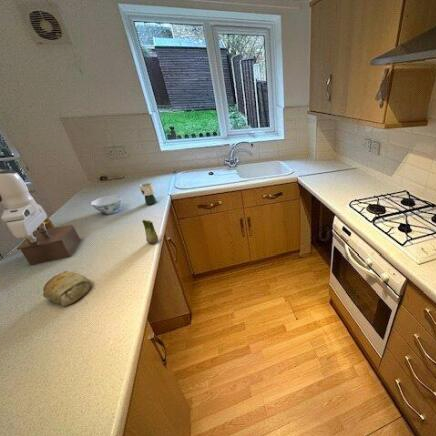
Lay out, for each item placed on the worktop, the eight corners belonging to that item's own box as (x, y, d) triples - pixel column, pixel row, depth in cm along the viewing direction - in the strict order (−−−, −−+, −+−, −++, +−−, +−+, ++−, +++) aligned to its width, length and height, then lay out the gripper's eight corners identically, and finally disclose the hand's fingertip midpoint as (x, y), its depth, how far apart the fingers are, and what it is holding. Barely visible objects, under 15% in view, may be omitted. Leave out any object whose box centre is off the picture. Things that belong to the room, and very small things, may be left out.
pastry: (56, 286, 90) (46, 269, 86) (96, 276, 94) (88, 260, 91) (39, 313, 79) (26, 296, 75) (85, 301, 83) (75, 284, 79)
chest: (30, 265, 101) (20, 249, 98) (45, 246, 114) (36, 232, 110) (70, 256, 106) (62, 241, 103) (80, 239, 119) (73, 225, 115)
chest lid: (17, 250, 97) (11, 240, 95) (34, 232, 110) (29, 223, 108) (62, 241, 103) (57, 233, 101) (73, 225, 115) (69, 217, 113)
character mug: (144, 202, 160) (138, 183, 154) (155, 199, 163) (150, 181, 157) (146, 207, 152) (140, 188, 146) (159, 204, 156) (153, 185, 150)
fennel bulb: (160, 242, 115) (153, 220, 110) (149, 246, 113) (141, 224, 107) (157, 238, 119) (150, 216, 114) (146, 241, 116) (138, 220, 111)
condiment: (40, 243, 116) (27, 221, 111) (44, 235, 123) (32, 214, 117) (59, 238, 120) (47, 217, 114) (63, 231, 126) (52, 211, 121)
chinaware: (118, 204, 156) (114, 193, 153) (129, 210, 149) (125, 198, 145) (92, 213, 145) (86, 201, 142) (102, 219, 138) (97, 207, 134)
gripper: (24, 200, 106) (40, 227, 112) (-2, 219, 89) (18, 250, 96) (42, 198, 108) (57, 224, 114) (20, 216, 92) (39, 246, 98)
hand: (39, 236), depth 105 cm, fingers open, 8 cm apart
